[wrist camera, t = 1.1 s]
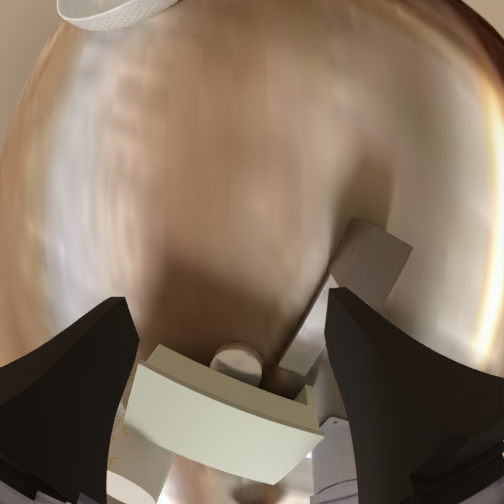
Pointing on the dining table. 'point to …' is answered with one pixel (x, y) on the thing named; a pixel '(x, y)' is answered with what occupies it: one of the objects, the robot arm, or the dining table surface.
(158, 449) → the beige cylinder
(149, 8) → the cereal bowl
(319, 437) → the pale green rectangular block
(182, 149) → the dining table surface
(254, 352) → the token
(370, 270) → the dark grey long block
